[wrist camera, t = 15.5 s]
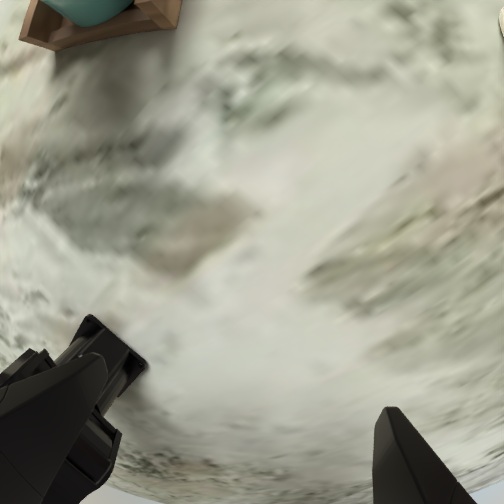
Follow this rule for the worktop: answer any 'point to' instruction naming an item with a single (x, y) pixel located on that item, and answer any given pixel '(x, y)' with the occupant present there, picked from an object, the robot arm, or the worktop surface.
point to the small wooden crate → (68, 34)
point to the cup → (502, 20)
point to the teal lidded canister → (88, 10)
